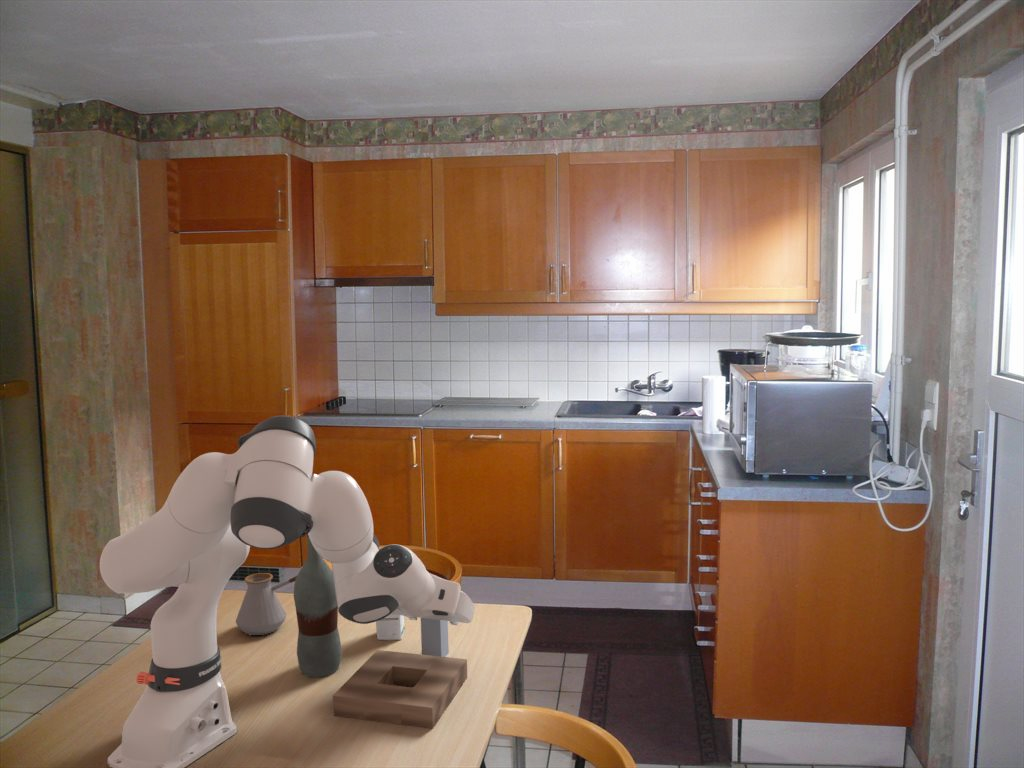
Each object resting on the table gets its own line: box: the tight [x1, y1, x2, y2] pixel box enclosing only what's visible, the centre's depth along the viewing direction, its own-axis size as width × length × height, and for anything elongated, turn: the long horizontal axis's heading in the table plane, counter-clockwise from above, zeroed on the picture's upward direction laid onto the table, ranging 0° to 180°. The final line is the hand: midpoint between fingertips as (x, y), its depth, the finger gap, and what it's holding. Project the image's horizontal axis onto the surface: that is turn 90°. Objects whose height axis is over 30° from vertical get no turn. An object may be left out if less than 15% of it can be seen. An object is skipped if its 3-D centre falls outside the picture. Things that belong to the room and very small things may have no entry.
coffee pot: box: [235, 572, 297, 636], centre depth 196 cm, size 21×12×15 cm, turn 95°
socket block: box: [332, 649, 468, 729], centre depth 163 cm, size 20×20×4 cm
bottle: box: [293, 534, 343, 678], centre depth 174 cm, size 9×9×30 cm
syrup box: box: [375, 614, 406, 641], centre depth 191 cm, size 6×6×14 cm
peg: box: [420, 618, 450, 657], centre depth 180 cm, size 4×4×10 cm
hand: (435, 619), depth 177 cm, fingers open, 8 cm apart
